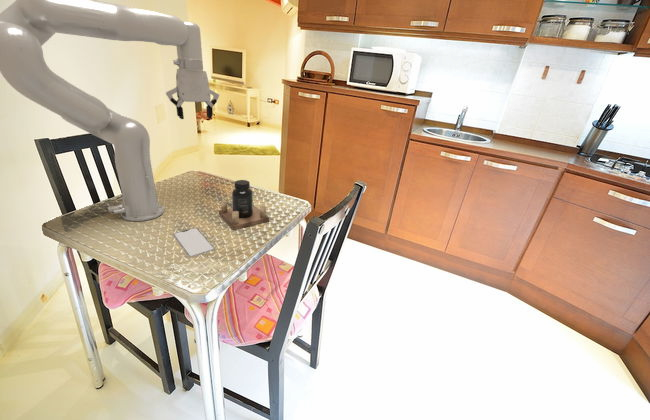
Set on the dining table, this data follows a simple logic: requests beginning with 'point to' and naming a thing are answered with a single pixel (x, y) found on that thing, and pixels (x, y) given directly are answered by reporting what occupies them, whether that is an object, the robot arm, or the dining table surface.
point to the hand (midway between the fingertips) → (195, 118)
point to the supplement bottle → (242, 198)
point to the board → (237, 223)
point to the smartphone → (193, 242)
